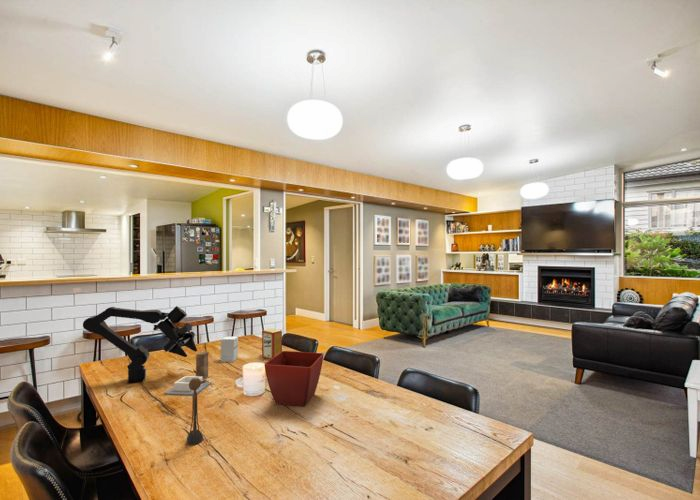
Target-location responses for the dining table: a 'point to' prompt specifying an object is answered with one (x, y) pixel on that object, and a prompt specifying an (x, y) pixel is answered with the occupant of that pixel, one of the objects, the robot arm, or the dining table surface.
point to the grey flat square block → (185, 386)
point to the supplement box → (229, 349)
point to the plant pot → (293, 376)
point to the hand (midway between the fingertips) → (191, 353)
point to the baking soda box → (271, 343)
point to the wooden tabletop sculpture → (195, 434)
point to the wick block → (202, 365)
